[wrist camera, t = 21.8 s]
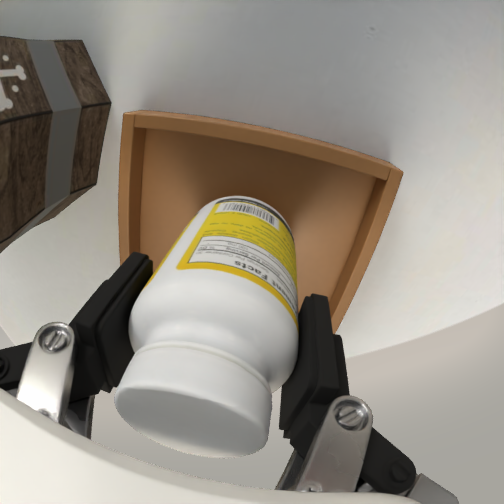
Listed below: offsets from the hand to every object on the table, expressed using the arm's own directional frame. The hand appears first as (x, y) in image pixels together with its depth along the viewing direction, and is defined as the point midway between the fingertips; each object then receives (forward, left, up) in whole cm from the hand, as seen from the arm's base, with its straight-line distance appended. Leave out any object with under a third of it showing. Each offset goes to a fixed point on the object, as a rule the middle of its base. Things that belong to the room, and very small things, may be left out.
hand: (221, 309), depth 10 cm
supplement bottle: (0, 0, -5) cm, 5 cm away
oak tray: (0, 0, -7) cm, 7 cm away
